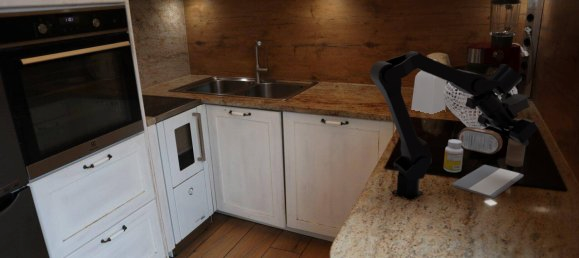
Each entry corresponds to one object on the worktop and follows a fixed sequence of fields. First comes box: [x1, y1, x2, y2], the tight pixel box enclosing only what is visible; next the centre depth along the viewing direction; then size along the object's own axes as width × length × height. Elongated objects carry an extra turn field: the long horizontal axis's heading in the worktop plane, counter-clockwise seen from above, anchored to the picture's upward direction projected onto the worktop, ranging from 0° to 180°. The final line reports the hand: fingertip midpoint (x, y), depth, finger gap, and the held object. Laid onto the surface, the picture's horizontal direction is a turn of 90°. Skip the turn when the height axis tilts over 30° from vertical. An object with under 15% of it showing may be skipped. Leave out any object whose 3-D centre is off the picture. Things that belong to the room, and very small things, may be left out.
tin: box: [457, 126, 503, 155], centre depth 150 cm, size 15×3×8 cm, turn 47°
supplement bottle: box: [443, 138, 464, 173], centre depth 134 cm, size 5×5×10 cm
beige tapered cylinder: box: [505, 118, 527, 168], centre depth 120 cm, size 5×5×13 cm
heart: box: [443, 82, 519, 129], centre depth 172 cm, size 28×16×22 cm, turn 68°
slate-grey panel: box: [451, 164, 524, 199], centre depth 126 cm, size 22×12×1 cm, turn 132°
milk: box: [410, 59, 448, 114], centre depth 202 cm, size 12×12×26 cm
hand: (521, 141), depth 120 cm, fingers closed on beige tapered cylinder, 4 cm apart
